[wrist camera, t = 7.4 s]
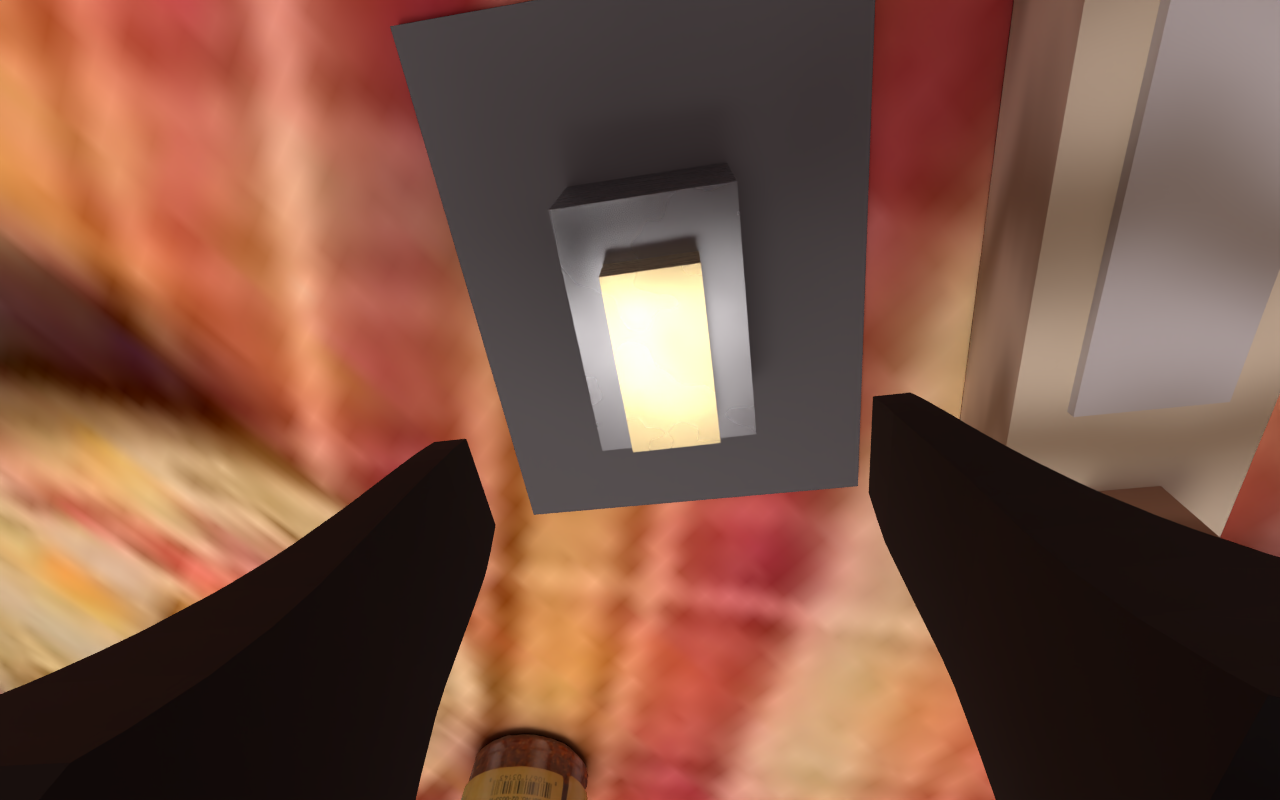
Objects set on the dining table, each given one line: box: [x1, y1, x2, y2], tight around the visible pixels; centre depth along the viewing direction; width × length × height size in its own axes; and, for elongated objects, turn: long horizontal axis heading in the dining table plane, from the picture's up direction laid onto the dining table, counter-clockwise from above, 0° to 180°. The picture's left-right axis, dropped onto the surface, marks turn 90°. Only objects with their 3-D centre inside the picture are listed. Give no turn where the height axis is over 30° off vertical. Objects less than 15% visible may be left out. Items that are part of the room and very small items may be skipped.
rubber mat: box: [390, 0, 875, 515], centre depth 19 cm, size 16×12×1 cm
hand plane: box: [960, 0, 1280, 538], centre depth 14 cm, size 22×7×6 cm, turn 8°
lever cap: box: [548, 162, 756, 452], centre depth 17 cm, size 7×4×4 cm, turn 9°
